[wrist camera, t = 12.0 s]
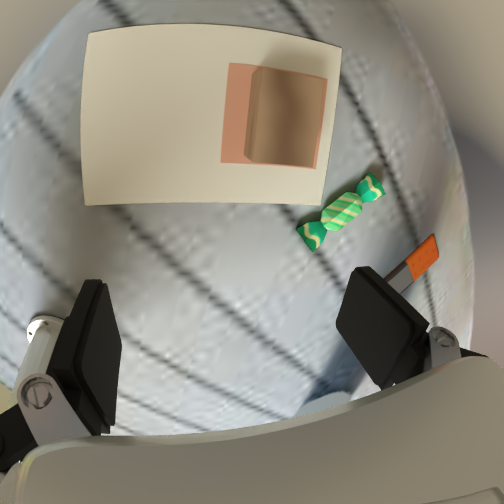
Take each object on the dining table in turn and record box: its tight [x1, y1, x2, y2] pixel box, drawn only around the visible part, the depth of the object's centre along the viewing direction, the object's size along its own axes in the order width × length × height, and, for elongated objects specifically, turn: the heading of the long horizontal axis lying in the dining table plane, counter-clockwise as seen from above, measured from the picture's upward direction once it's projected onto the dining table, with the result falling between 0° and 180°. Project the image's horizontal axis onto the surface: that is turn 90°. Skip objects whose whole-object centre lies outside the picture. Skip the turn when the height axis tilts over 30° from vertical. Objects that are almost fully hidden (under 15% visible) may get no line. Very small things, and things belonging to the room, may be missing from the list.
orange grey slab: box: [384, 235, 439, 294], centre depth 43 cm, size 6×1×15 cm
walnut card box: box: [244, 68, 325, 168], centre depth 25 cm, size 6×9×4 cm, turn 174°
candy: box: [296, 172, 386, 252], centre depth 33 cm, size 12×3×4 cm
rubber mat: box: [81, 24, 342, 206], centre depth 25 cm, size 20×28×1 cm
